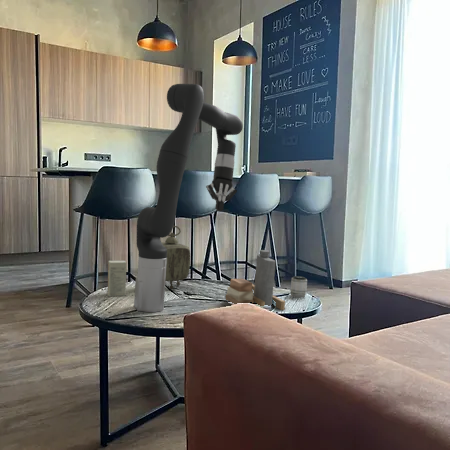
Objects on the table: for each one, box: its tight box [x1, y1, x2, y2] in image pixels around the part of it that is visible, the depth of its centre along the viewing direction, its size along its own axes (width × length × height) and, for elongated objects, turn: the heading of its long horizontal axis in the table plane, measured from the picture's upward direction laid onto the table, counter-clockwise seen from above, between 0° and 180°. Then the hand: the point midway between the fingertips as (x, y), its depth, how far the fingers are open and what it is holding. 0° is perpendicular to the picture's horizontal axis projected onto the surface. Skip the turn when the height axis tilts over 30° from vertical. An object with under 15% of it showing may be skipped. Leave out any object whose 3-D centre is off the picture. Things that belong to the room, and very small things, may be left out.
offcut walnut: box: [225, 293, 254, 304], centre depth 162 cm, size 7×9×3 cm
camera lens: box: [290, 275, 308, 299], centre depth 181 cm, size 6×6×8 cm
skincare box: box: [107, 260, 127, 297], centre depth 162 cm, size 6×4×12 cm
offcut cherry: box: [229, 278, 253, 292], centre depth 162 cm, size 5×7×3 cm
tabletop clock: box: [161, 225, 191, 290], centre depth 177 cm, size 14×9×25 cm, turn 122°
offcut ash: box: [226, 286, 254, 301], centre depth 162 cm, size 6×8×3 cm
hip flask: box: [253, 249, 276, 306], centre depth 163 cm, size 16×4×20 cm, turn 11°
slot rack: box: [252, 283, 286, 311], centre depth 170 cm, size 10×28×3 cm, turn 22°
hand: (219, 211), depth 174 cm, fingers closed
